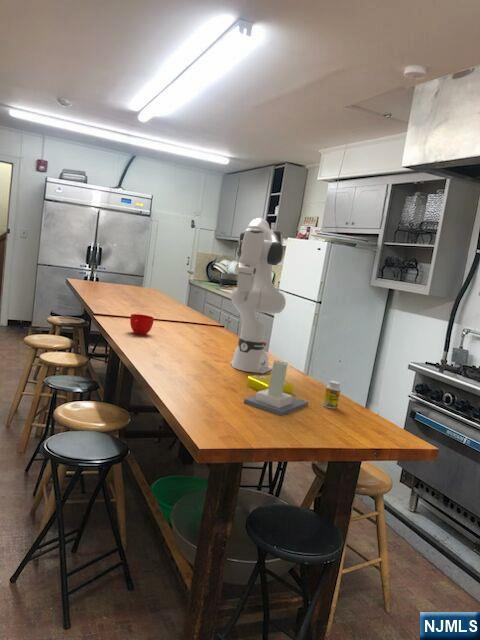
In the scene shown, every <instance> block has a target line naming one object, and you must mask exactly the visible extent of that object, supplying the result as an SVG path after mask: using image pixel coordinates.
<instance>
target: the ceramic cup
mask: <svg viewBox="0 0 480 640" xmlns="http://www.w3.org/2000/svg"><path fill="white" fill-rule="evenodd" d="M129 318H130V327H131V330H132V332H133V333H134V334H135V335H139V334H140V336H146V335H147V334H148V333H149V332H150V331H151V330H152V327H153V325H154V320H155V318H154V317H153V316H150V315H146V314H142V313H141V314H139V313H131V314H130V317H129Z"/></svg>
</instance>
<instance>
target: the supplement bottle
mask: <svg viewBox="0 0 480 640" xmlns="http://www.w3.org/2000/svg"><path fill="white" fill-rule="evenodd" d="M340 394H341V387H340V382H338V381H336V380H330V381H329V383H328V385H327V386H326V388H325V393H324V397H323V402H322V405H323V406H324V407H325V408H327V409H337V408H338V404H339V399H340Z"/></svg>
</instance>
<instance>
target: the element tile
mask: <svg viewBox="0 0 480 640" xmlns="http://www.w3.org/2000/svg"><path fill="white" fill-rule="evenodd" d="M270 379H271V374H268V375H267V374H266V375H265V374H263V375H262V374H261V375H248V376H247V380H246V387H248V388H250V389H252V390H255V391H257V392H259V391H262V390H266V389H269V384H270ZM294 386H295V385H294V383H291V382H288V381H286V380H285V381H284V386H283V393H286V394H289V395H293V392H294Z"/></svg>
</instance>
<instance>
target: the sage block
mask: <svg viewBox="0 0 480 640" xmlns="http://www.w3.org/2000/svg"><path fill="white" fill-rule="evenodd" d="M288 364H289V363H288V362H286V361H280V360H275V359H274V361H273V363H272V369H271V374H270V375H271V379H270V384H269V390H268V394H269V395H274V396H278V397H281V396H282V392H283V386H284V381H286V375H287V369H288Z"/></svg>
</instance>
